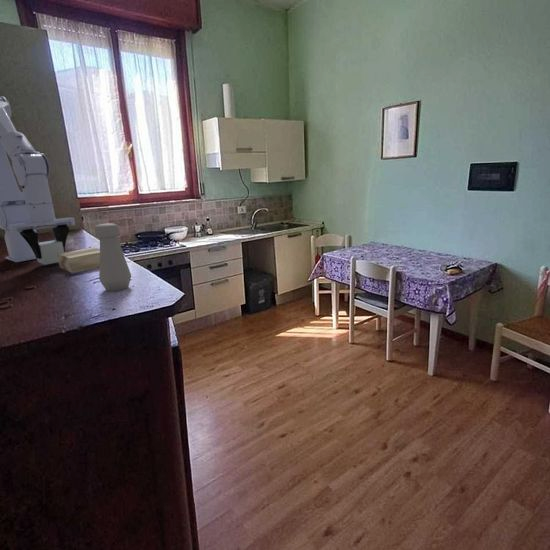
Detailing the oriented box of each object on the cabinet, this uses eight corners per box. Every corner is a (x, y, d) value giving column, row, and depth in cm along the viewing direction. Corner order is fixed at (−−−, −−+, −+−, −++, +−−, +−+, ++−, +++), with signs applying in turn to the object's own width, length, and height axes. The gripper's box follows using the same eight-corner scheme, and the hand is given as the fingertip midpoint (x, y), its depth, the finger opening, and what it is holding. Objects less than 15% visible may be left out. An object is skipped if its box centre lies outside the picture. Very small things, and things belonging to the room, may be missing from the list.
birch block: (60, 268, 92) (57, 253, 91) (96, 261, 98) (93, 247, 97) (72, 274, 86) (69, 258, 85) (110, 266, 92) (107, 251, 91)
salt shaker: (137, 283, 74) (127, 221, 71) (124, 292, 69) (112, 225, 65) (111, 284, 75) (100, 222, 71) (95, 293, 70) (82, 226, 66)
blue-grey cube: (38, 262, 94) (33, 243, 93) (58, 258, 98) (54, 240, 97) (45, 264, 91) (40, 245, 90) (65, 260, 95) (62, 241, 94)
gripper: (10, 207, 83) (24, 263, 87) (75, 201, 93) (85, 252, 97) (1, 206, 87) (14, 260, 91) (64, 200, 98) (74, 249, 102)
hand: (50, 256), depth 94 cm, fingers closed on blue-grey cube, 5 cm apart
